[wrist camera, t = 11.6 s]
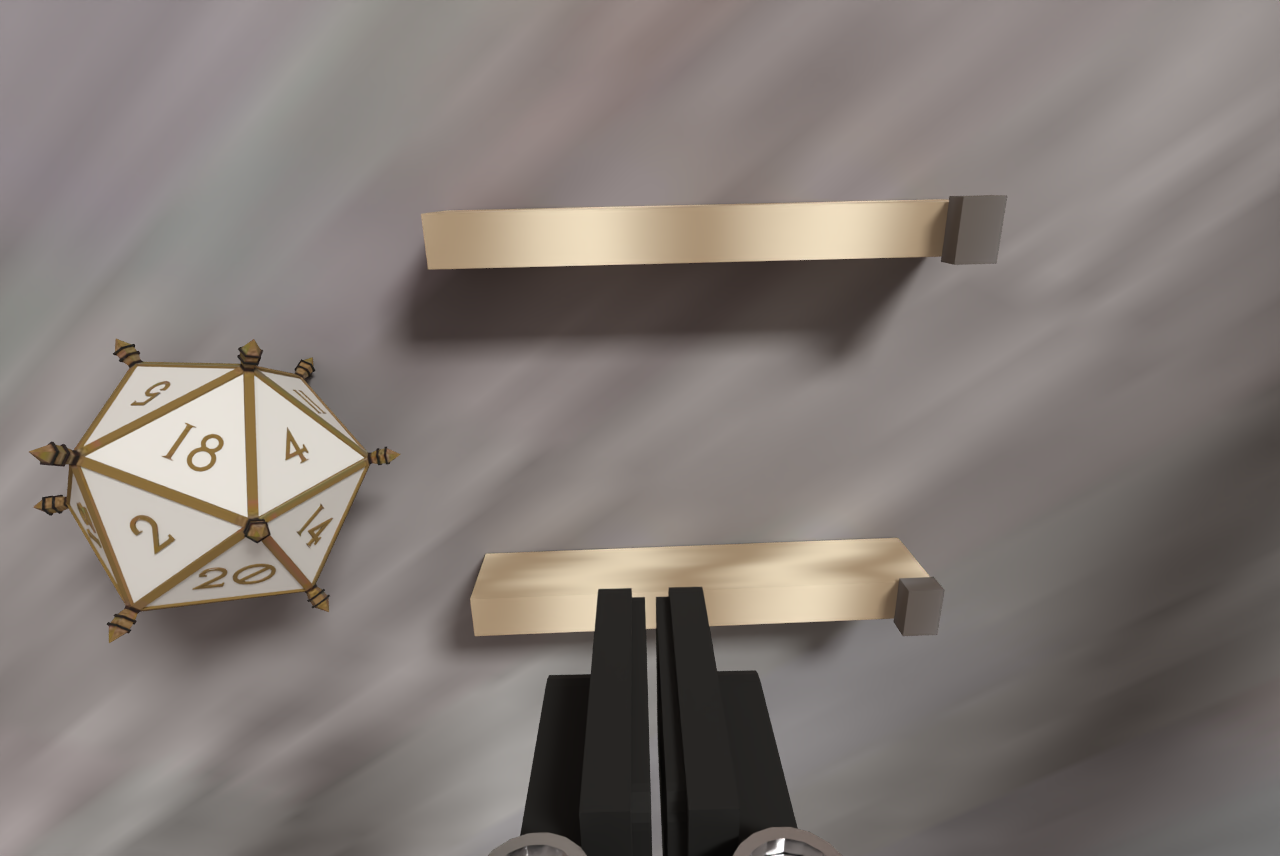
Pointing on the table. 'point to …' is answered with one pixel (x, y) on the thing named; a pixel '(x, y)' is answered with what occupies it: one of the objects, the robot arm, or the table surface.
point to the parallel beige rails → (733, 573)
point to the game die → (210, 483)
